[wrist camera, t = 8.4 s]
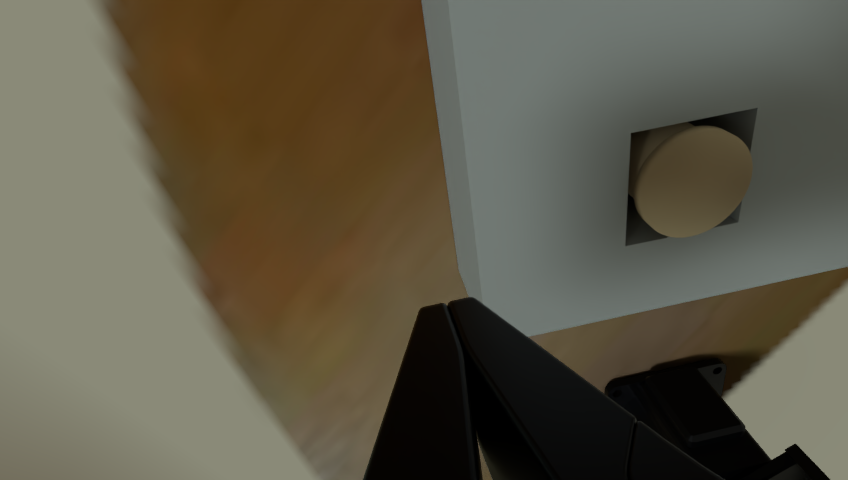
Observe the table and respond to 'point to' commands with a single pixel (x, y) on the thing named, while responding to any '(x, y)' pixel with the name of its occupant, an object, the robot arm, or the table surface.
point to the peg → (687, 177)
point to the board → (610, 146)
